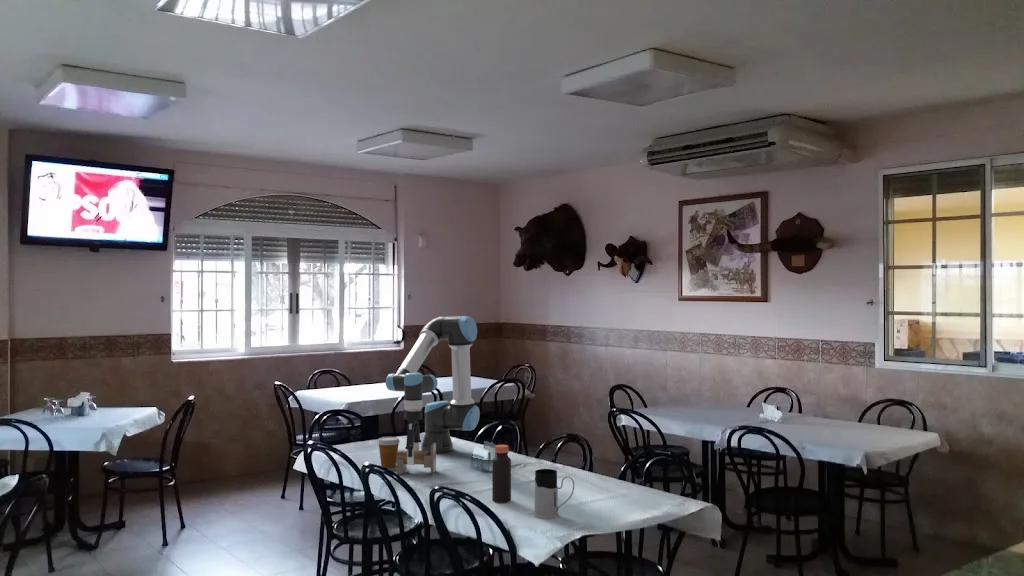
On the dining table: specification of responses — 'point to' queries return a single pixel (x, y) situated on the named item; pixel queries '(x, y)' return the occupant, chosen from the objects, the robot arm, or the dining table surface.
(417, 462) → the rail
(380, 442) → the disposable coffee cup
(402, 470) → the saddle
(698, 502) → the dining table surface
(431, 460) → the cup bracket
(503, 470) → the bottle
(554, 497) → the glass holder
